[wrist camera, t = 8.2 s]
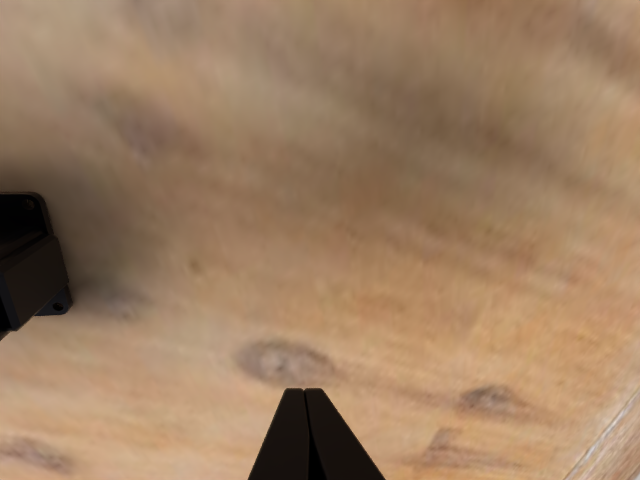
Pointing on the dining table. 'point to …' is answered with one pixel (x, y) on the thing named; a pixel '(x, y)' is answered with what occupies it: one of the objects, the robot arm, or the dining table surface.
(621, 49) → the dining table surface
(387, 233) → the dining table surface
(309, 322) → the dining table surface
